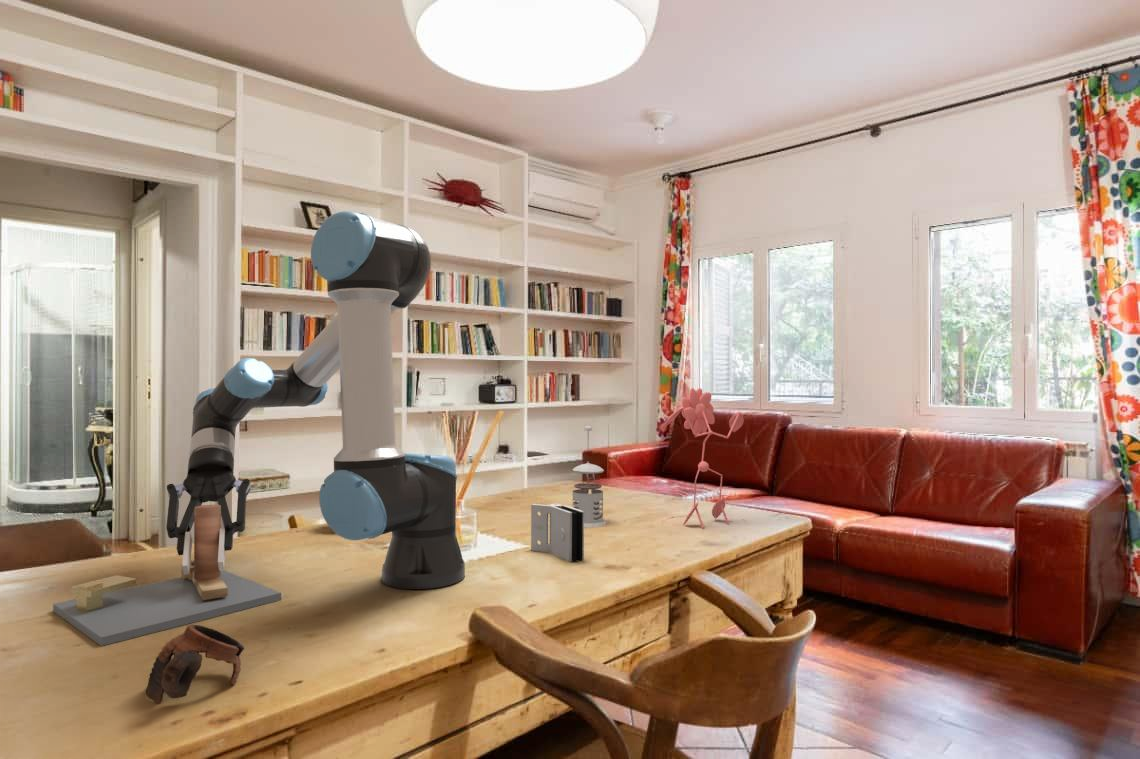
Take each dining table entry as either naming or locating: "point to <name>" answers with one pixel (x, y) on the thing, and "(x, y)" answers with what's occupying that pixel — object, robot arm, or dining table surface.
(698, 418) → the pink stick figure
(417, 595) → the dining table surface
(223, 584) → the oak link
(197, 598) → the charcoal board
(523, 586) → the dining table surface
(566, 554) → the hinge
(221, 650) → the brown curved piece
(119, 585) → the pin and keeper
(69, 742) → the dining table surface
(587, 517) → the french press
